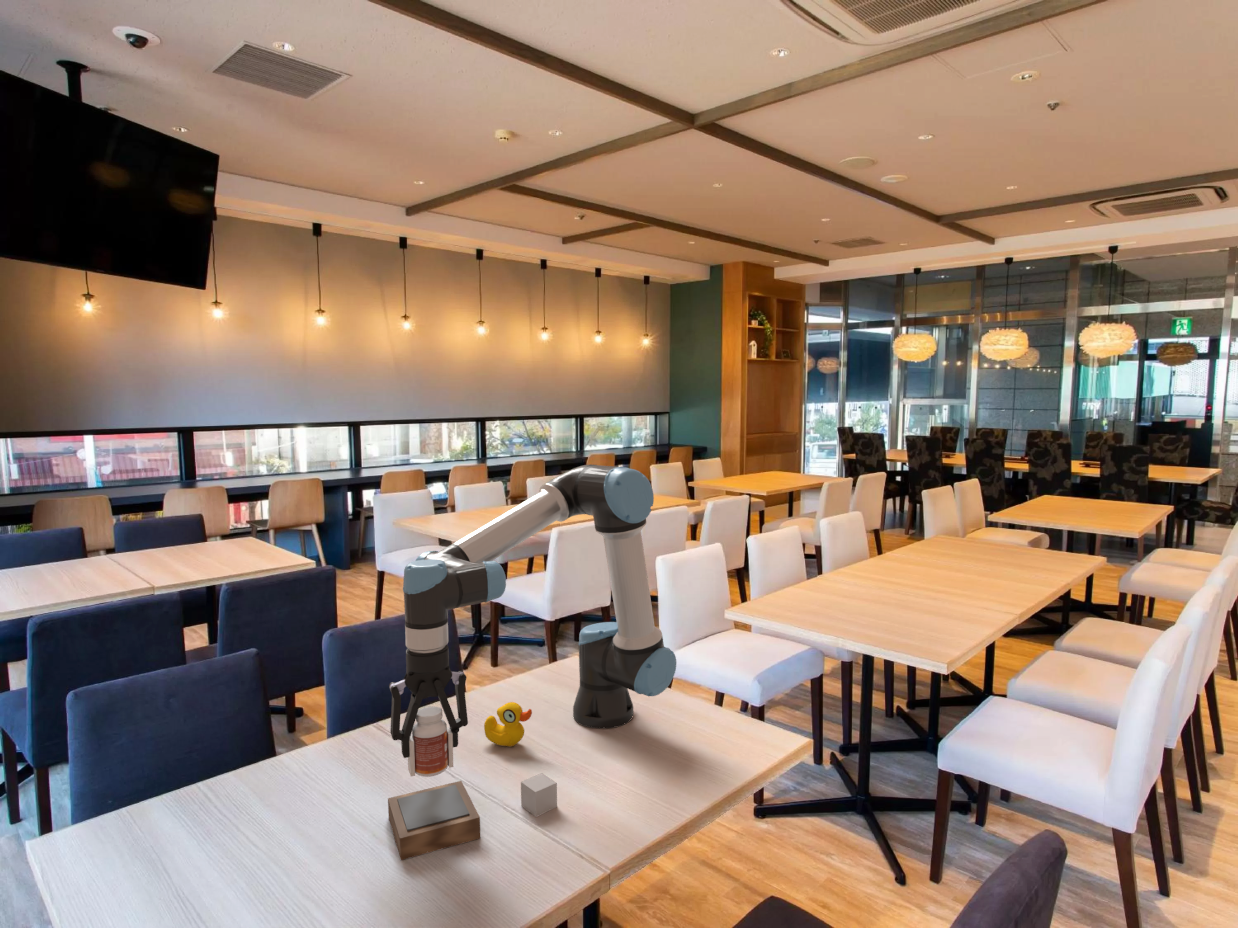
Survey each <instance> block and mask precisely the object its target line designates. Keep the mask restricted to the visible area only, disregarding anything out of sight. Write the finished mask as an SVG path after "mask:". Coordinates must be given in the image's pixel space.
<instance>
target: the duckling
mask: <svg viewBox="0 0 1238 928" xmlns="http://www.w3.org/2000/svg"><path fill="white" fill-rule="evenodd" d="M532 714H533V711H532V709H531V708H529V709H528V710H527V711H523V708H522V706H521V705H520V704H519V703H517V702H513V701H510V702H507V703H505V704H503V705H502V706H500V707H498V708H497V709H496V715H497V717H498V718H499V719H498V720H499V721H500V722H501V723H502V724H500V723H498V721H497V718H496V717H495V716H494V715H489V716H487V718H486V719H485V721H484V724H483V725H484V726H483V728H484V735H485V737H486V738H487V740H489V742H491V743H493V744H495V745H496V746H501V747H509V748H510V747H511V748H512V747H513V746H516V745H517V744H518V743H519V742H520V741H521V740H522V739H523V738H524V735H525V728H524V726H523V724H522V723H523V722H526V721H528V720H530V719H531V717H532ZM521 722H522V723H521Z"/></svg>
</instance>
